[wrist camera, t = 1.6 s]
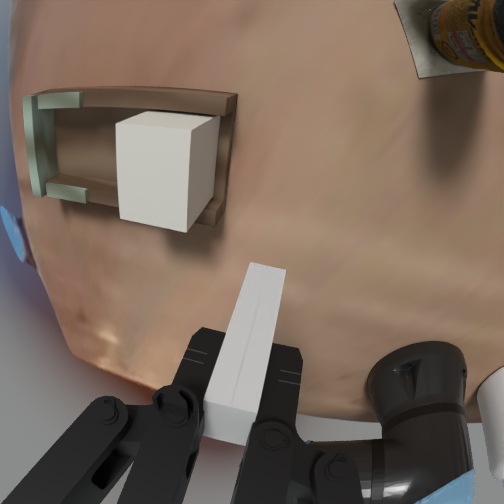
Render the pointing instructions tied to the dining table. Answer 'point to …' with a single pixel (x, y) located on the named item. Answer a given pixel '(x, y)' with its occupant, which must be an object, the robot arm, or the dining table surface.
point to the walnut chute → (110, 138)
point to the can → (493, 420)
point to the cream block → (166, 166)
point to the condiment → (454, 35)
